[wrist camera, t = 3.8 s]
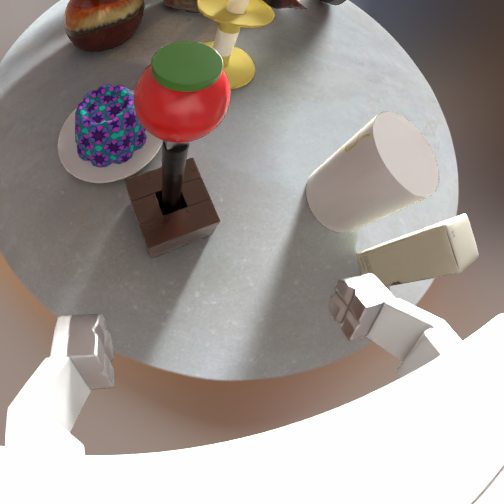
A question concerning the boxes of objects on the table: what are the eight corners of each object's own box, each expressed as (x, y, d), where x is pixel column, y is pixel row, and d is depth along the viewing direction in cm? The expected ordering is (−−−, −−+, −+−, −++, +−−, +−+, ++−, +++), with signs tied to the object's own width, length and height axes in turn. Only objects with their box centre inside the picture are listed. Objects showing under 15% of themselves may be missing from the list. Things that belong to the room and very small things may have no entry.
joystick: (197, 229, 26) (260, 89, 9) (157, 244, 25) (145, 112, 7) (182, 191, 27) (219, 27, 9) (143, 205, 25) (123, 42, 8)
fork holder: (211, 235, 27) (220, 221, 22) (151, 259, 25) (148, 249, 20) (188, 179, 27) (193, 157, 23) (130, 200, 25) (124, 180, 21)
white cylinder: (352, 165, 33) (416, 116, 22) (373, 227, 32) (449, 194, 21) (296, 168, 31) (358, 106, 20) (318, 238, 30) (397, 201, 19)
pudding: (81, 208, 23) (65, 187, 19) (48, 125, 23) (35, 97, 19) (186, 150, 28) (192, 120, 23) (140, 80, 28) (139, 48, 23)
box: (365, 291, 30) (458, 276, 18) (353, 253, 31) (443, 223, 19) (394, 275, 32) (481, 256, 20) (383, 241, 33) (467, 211, 20)
